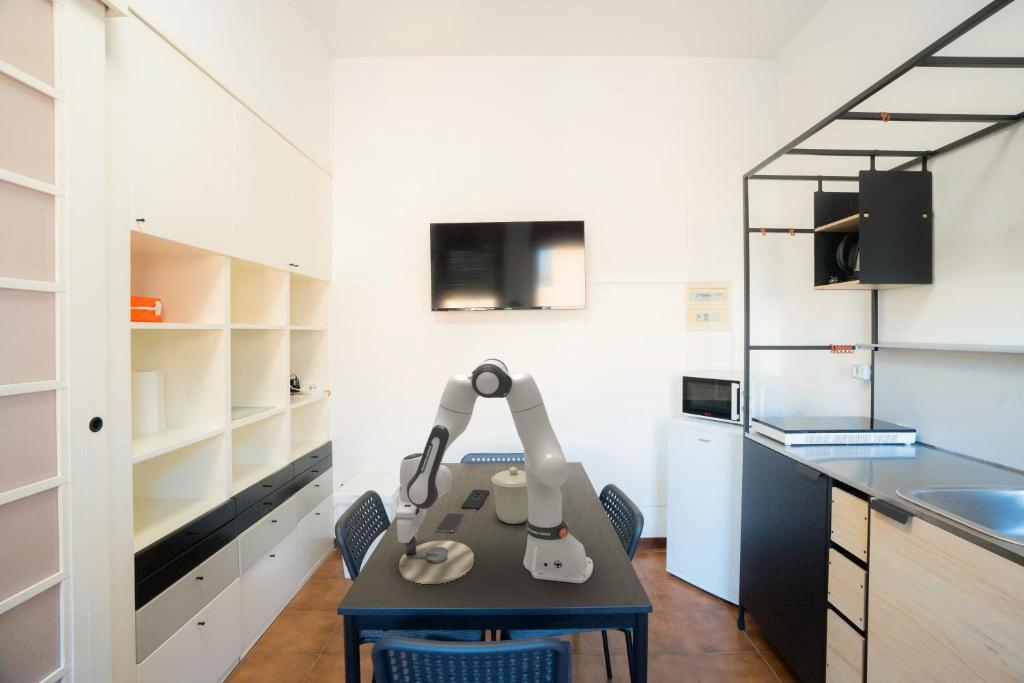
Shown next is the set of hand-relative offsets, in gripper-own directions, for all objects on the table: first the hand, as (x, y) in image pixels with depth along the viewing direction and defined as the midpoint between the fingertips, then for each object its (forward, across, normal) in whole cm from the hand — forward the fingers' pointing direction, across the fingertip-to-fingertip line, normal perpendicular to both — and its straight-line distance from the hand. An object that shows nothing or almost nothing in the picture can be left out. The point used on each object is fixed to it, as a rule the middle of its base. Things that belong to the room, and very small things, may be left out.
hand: (413, 542), depth 140 cm
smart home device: (+6, -49, +14) cm, 51 cm away
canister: (+5, -31, +32) cm, 45 cm away
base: (+5, +4, +9) cm, 11 cm away
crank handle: (+3, +3, +5) cm, 7 cm away
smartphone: (+5, -26, +7) cm, 27 cm away
